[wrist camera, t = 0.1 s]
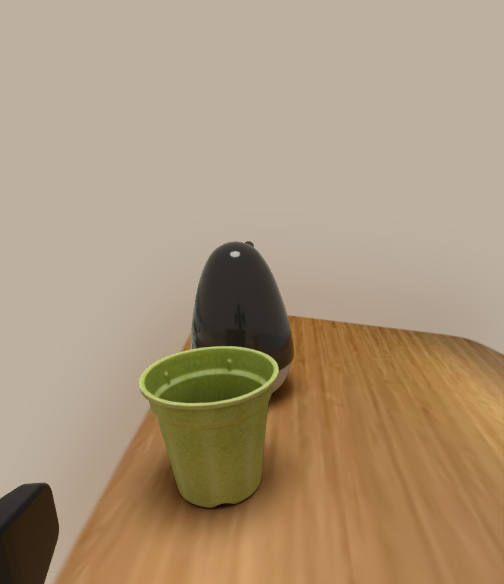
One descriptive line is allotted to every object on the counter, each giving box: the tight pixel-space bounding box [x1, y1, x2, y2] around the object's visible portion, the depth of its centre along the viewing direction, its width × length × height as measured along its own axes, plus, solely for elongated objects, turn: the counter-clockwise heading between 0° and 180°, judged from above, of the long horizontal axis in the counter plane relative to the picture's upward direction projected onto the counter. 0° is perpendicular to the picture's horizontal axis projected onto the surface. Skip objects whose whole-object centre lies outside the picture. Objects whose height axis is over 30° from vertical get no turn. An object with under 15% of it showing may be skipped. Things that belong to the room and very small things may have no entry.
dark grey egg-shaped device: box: [191, 241, 294, 393], centre depth 45 cm, size 10×10×15 cm
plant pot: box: [139, 346, 279, 508], centre depth 33 cm, size 9×9×9 cm
